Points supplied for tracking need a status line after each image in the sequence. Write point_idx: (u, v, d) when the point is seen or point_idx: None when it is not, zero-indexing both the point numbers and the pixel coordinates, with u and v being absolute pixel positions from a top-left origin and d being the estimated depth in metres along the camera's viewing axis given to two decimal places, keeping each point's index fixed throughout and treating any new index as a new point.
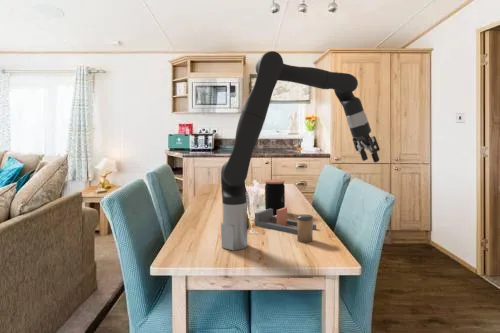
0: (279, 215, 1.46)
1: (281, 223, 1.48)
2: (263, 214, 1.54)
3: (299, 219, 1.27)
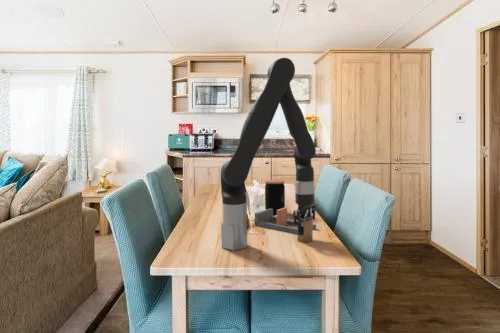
0: (279, 215, 1.46)
1: (281, 223, 1.48)
2: (263, 214, 1.54)
3: None
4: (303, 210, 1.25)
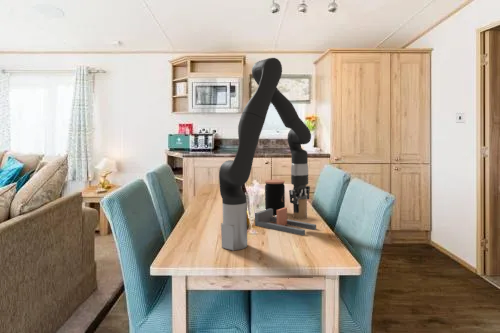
0: (279, 215, 1.46)
1: (281, 223, 1.48)
2: (263, 214, 1.54)
3: None
4: (298, 190, 1.39)
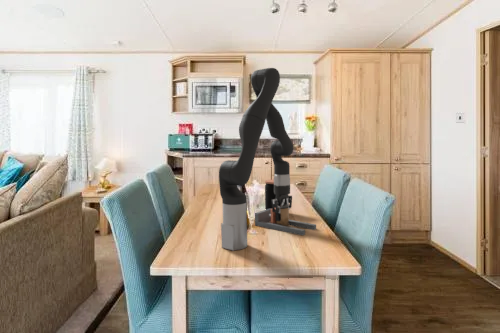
0: (273, 214, 1.48)
1: (275, 222, 1.50)
2: (263, 214, 1.54)
3: None
4: (280, 199, 1.45)
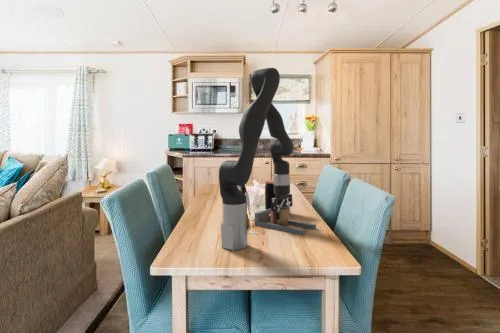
0: (273, 214, 1.49)
1: (275, 222, 1.50)
2: (263, 214, 1.54)
3: (277, 208, 1.47)
4: (280, 198, 1.45)
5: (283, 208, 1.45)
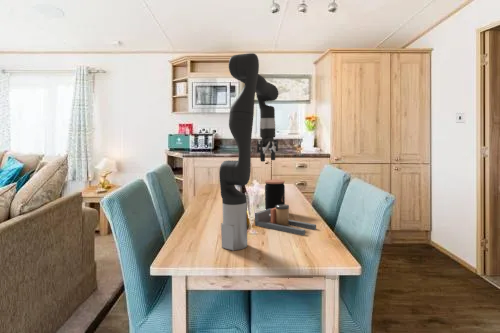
0: (273, 214, 1.49)
1: (275, 222, 1.50)
2: (263, 214, 1.54)
3: (277, 208, 1.47)
4: (266, 141, 1.54)
5: (283, 208, 1.45)
